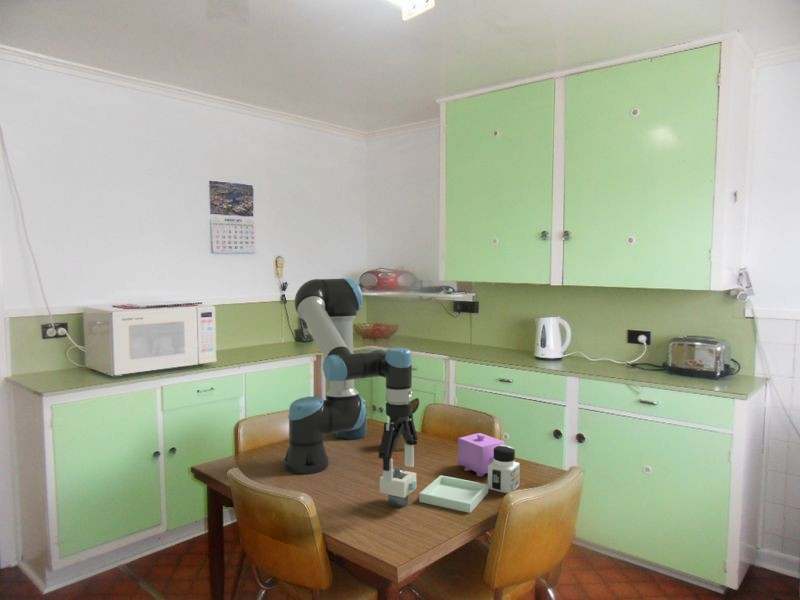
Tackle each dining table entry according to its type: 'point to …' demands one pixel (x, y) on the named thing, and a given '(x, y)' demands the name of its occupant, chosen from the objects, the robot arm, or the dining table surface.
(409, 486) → the cream square-holed block
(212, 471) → the dining table surface
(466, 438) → the teapot
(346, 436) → the canister
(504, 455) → the container
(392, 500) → the dark grey stemmed piece
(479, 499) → the tray
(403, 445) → the wooden mug
